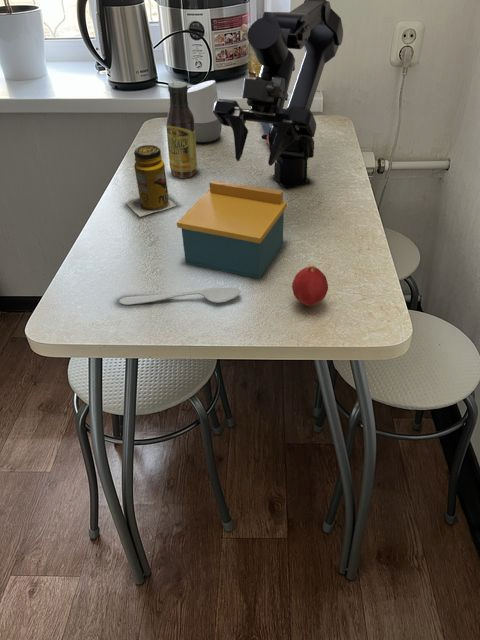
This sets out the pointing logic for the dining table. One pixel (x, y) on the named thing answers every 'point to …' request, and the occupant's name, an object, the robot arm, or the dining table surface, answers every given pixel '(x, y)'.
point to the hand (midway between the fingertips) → (253, 162)
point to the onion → (310, 286)
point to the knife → (266, 131)
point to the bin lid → (235, 211)
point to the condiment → (150, 182)
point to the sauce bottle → (181, 132)
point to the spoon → (209, 294)
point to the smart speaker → (204, 111)
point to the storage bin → (232, 251)
